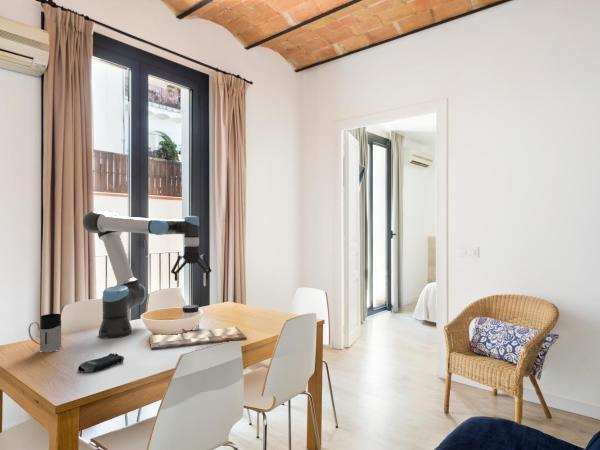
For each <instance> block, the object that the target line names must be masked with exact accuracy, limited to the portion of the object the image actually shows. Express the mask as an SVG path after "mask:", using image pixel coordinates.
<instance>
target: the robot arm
mask: <svg viewBox="0 0 600 450" xmlns="http://www.w3.org/2000/svg"><path fill="white" fill-rule="evenodd" d="M82 226H83V228H84V229H85V230H86V231H88V232H89V233H93V234H97V237H98V239H99V240H101V241H102V242H103V244H104V247H105V250H106V251H105V252H106V254H107V257H108V259H109V262H110V264H111V267H112V271H113V274H114V277H115V280H116V284H115V285H114V286H109V287H106V288H105V289H104V290H103V291H102V297H101V299H102V321H101V324H100V327H99V329H98V337H99V338H101V337H102V338H101V339H117V338H123V337H127V336H129V335H131V334H132V333H133V327H132V325H131V321H130V319H129V310H130V309H133V308H137V307H138V306H140V305H142V304H143V303H144V301H146V298H147V289H146V287H145V286H144V285H142V284H140V281H139V278H136V277H135V276H134V273H133V271H132V267H131V265H130V264H131V263H130V261H129V259H128V256H127V253H126V250H125V247H124V245H123V241H122V238H121V235H122V233H137V234H148V235H150V234H151V235H155V236H156V235H157V236H162V235H183V236H184V238H183V245H184V247H183V255H182V254H181V255H180V254H179V255H177V259H176V261H175V263H174V265H173V267H172V268H171V271H170V273H171V274H173V275H174V281H176V288H179V284H180V280H179V279H180V274H179V273H180V272H181V270H182V269H183V268H184V267H185V266H186V265H187V264H189V265H190V264H193V265H194V264H196V263H197V265H198V266H199V267H200V268H201V270H203V271H204V272H203V286H204V287H206V286H207V280H208V279H209V278H208V277H209V273H212V269H211V267H210V265H209V263H208V261H207V259H206V255H205V254H201V255H200V246H199V245H200V217H199V216H196V215H191V216H190V215H187V216H184V219H160V218H158V219H157V218H145V217H133V216H132V217H131V216H121V215H119V214H118V213H116V212H114V211H109V210H105V211H104V210H103V211H102V210H93V211H92V210H91V211H89V212H87V213H86V214H85V215H84V216H83V218H82ZM199 259H201V260H202V261H203V263H204V265H205V266H206V268H205V267H204V265H203V264H202V263H201V262H200V261H199ZM181 260H184V261H183V262H182V263H181V264H180V265H179V263H180V261H181ZM178 265H179V267H178ZM177 267H178V268H177Z"/></svg>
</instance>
